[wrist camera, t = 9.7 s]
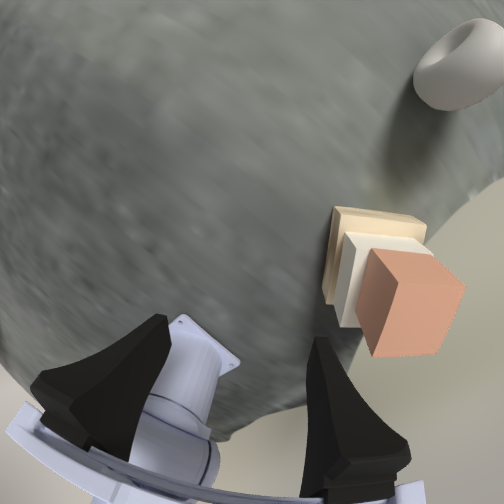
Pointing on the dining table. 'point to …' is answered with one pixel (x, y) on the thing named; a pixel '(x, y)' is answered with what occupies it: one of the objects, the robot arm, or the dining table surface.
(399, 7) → the dining table surface
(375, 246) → the cream top block
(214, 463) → the robot arm
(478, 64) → the donut
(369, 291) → the terracotta cube
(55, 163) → the dining table surface
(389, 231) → the birch base block
